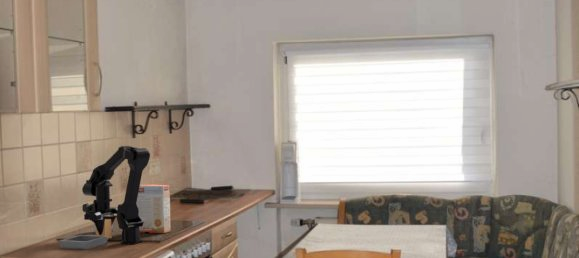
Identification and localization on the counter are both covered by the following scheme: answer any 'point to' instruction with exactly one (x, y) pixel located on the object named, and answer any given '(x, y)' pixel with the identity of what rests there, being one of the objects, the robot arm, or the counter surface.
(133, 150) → the robot arm
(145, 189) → the cracker box
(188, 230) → the counter surface
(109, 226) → the plain tan block
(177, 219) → the counter surface
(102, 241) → the block holder
